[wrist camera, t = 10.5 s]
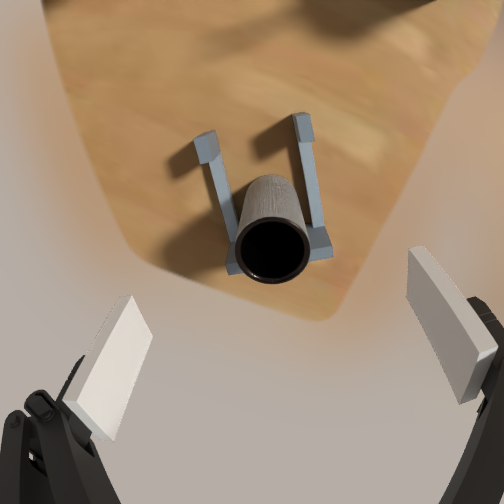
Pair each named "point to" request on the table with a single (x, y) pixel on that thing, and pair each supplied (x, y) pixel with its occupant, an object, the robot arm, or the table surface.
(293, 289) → the table surface
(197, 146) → the endcap rail
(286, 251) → the grey tube
